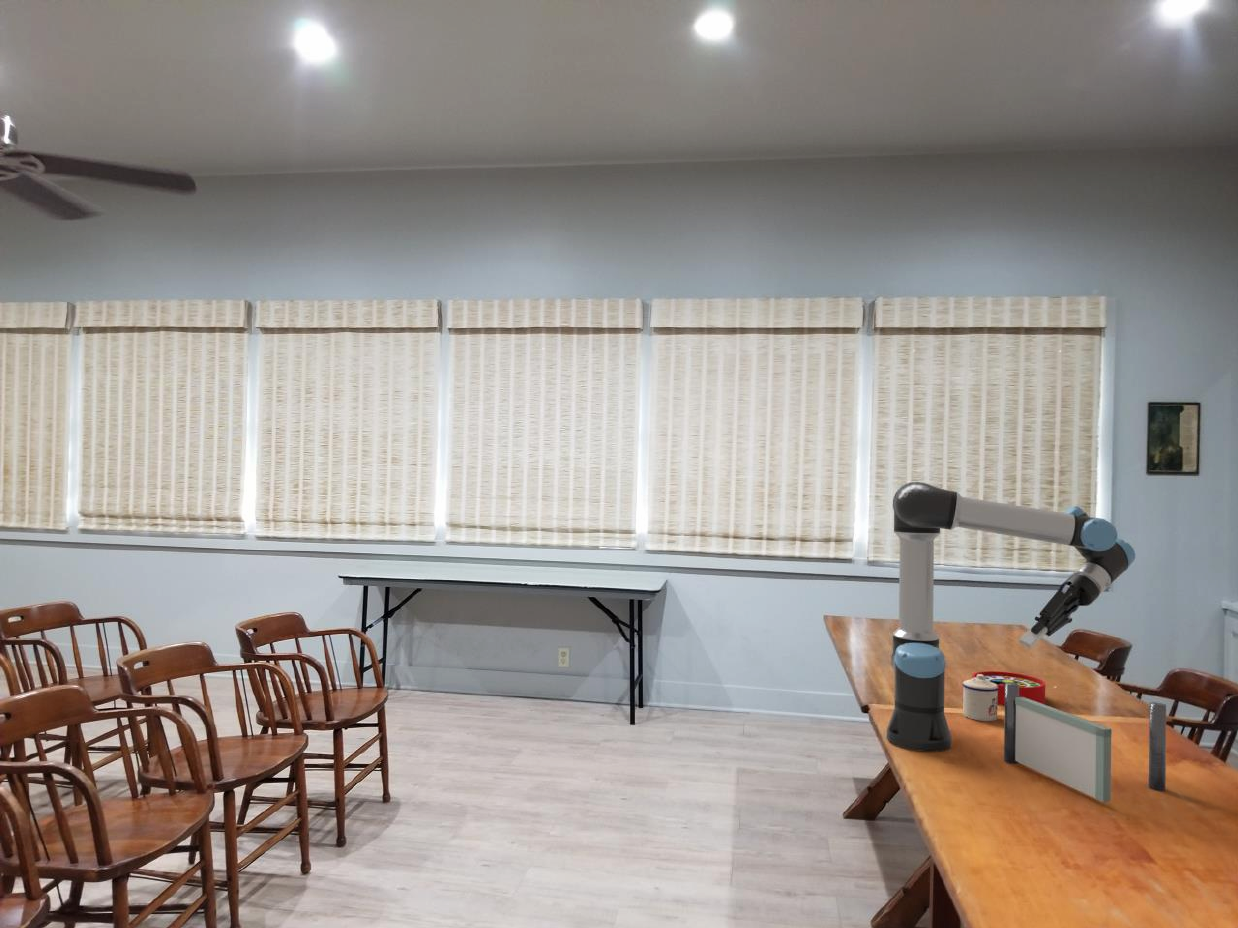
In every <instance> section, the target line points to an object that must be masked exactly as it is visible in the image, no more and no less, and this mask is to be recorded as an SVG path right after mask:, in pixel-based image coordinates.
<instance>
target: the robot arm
mask: <svg viewBox="0 0 1238 928" xmlns="http://www.w3.org/2000/svg"><path fill="white" fill-rule="evenodd" d="M892 510H893V533H894V534H895V536H897V537H898V538H899V573H898V574H899V576H898V577H899V579H898V580H899V581H898V582H899V584H898V585H899V588H898V595H899V596H898V628H897V629H896V630H895V631H894V632H893V633H892V653H891V655H890V656H891V657H890V659H891V660H890V661H891V667H892V669H893V673H894V674H893V675H894V705H893V706H894V708H893V711H892V714H891V716H890V719H889V722H888V724H887V728H886V740H887V741H888V742H889V743H891V744H893V745H894V746H897V747H900V748H904V749H907V750H912V751H917V752H934V753H935V752H944V751H947V750H949V749H951V748H952V735H951V731H950V729H949V725H948V722H947V719H946V715H945V676H946V675H945V674H946V673H945V672H946V671H945V669H946V664H947V663H946V660H945V654H944V652H943V651H942V649H940V635H939V634H937V633H936V632H935V630H934V589H935V588H934V584H935V583H934V582H935V581H934V579H935V577H934V573H935V572H934V571H935V569H934V566H935V565H934V564H935V561H934V560H935V558H934V557H935V556H934V555H935V545H934V544H935V539H936V538H937V537H939V536H940V534H941V529H945V530H949V531H952V530H954V529H955V528H960V529H961V528H963V529H968V530H974V531H980V532H986V533H993V534H998V535H1003V536H1004V535H1005V536H1010V537H1017V538H1023V539H1028V540H1034V541H1035V540H1036V541H1041V542H1046V543H1052V544H1058V545H1064V546H1065V545H1066V546H1070V547H1074V549H1076V551H1077V552H1078V553H1079V554H1080V555H1081V556H1082V557H1083V558H1084V559H1085V562H1083V563H1082V564H1081V565H1080V566H1079V567H1078V568H1077V569H1076V570H1075V571H1074V572H1073V573H1072V574H1071V575H1069V577H1068V578H1067V579H1066V580H1064V582H1063V583H1062V584H1061V585H1060V586H1059V588H1058V590H1057V591H1056V592H1055V594H1054V595H1053V596H1052V597H1051V598H1050V600H1049V601H1048V602H1047V603H1046V604H1045V606H1044V607H1043V609H1041V610H1040V611H1039V613H1038V615H1039V616H1040V617H1038V616H1037V615H1036V616H1035V617H1034V621H1036V622H1035V623H1034V625H1032V626H1031V627H1030V628H1029V629H1028V630H1027V631H1026V632H1025V633H1024V634H1023V635H1022V636H1021V637H1020V638H1019V643H1020V644H1022V645H1023V646H1025V648H1026V647H1027V648H1028V649H1031V648H1032V647H1034V646H1035V645H1036V644H1037V643H1038V641H1040V639H1041V640H1042V638H1043V637H1045V636H1047V637H1051V636H1052V635H1054V634H1055V633H1056V632H1057V631H1059V630H1060V629H1062V628H1063V627H1064V626H1066V625H1068V624H1070V623H1072V622H1073V618H1072V617H1071V615H1072V614H1073V613H1075V612H1076V611H1077V610H1078V609H1079V607H1083V606H1084V607H1088V606H1090V605H1091V604H1092V603H1093V602H1095V600H1097V598H1099V596H1100V595H1101V594H1102V593H1103V592H1104V591H1106V589H1109V588H1111V586H1112V585H1111V584H1112V583H1114V582H1115V581H1116V580H1117V579H1118V578H1119V577H1120V576H1121V575H1122V574H1124V572H1126V571H1127V570H1129V567H1130V566H1131V565H1132V564H1133V562H1134V561H1135V560H1136V551H1135V550H1134V548H1133V546H1132V545H1131V544H1130V543H1129V542H1125V541H1124V539H1121V538H1119V537H1118V531H1117V529H1116V528H1117V527H1115V526H1114V524H1113V523H1112V522H1110V521H1109V520H1106V519H1104V518H1099V517H1091V516H1089V515H1088V513H1087V512H1086V511H1084V510H1083V509H1082V508H1081V507H1080V506H1076V505H1075V506H1071V507H1070V508H1068V509H1066V510H1064V511H1063V512H1060V511H1052V510H1047V509H1042V508H1041V509H1040V508H1036V507H1035V508H1033V507H1028V506H1023V505H1016V504H1009V503H1008V504H1007V503H1002V502H997V501H990V500H985V499H979V498H978V499H977V498H971V497H964V496H962V495H961V494H960V493H959V492H958V491H953V490H948V489H945V488H944V489H943V488H939V487H937V486H934V485H932V484H929V483H926V482H919V481H911V482H909V483H905V484H904V485H902V486H900V488H899V489H897V491H896V492H895V494H894V496H893V499H892Z"/></svg>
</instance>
